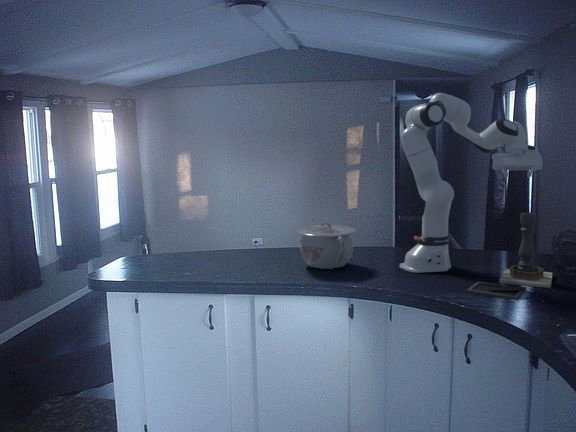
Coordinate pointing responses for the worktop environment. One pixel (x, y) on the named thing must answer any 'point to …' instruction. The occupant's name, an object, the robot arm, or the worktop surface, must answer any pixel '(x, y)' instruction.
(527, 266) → the candle holder
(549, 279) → the collar board
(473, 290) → the picture frame
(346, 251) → the chamber pot
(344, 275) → the worktop surface
